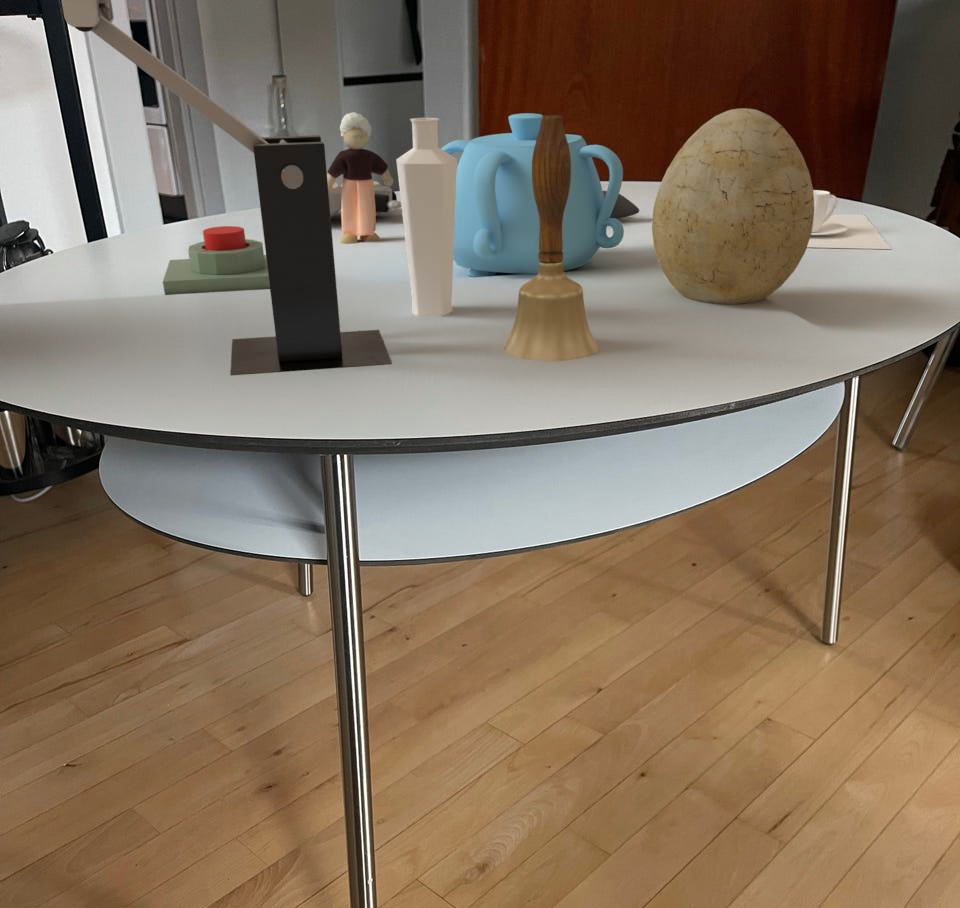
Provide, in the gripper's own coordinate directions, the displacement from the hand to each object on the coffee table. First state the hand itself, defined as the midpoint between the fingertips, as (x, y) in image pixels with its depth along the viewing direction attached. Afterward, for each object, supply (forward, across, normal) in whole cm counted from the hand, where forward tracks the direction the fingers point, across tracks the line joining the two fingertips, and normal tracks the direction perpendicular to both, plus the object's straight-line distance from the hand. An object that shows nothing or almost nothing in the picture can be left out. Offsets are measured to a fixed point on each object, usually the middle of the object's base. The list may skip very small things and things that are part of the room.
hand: (91, 26), depth 61 cm
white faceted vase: (+21, -9, +21) cm, 31 cm away
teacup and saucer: (+20, -40, +66) cm, 80 cm away
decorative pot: (+21, -27, +33) cm, 48 cm away
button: (+18, -25, +5) cm, 31 cm away
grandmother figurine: (+21, -46, +19) cm, 54 cm away
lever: (+5, 0, +5) cm, 7 cm away
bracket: (+21, 0, +11) cm, 24 cm away
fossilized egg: (+20, -9, +46) cm, 51 cm away
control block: (+21, -25, +5) cm, 33 cm away
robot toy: (+21, -60, +17) cm, 66 cm away
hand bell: (+21, +3, +28) cm, 35 cm away
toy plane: (+21, -55, +41) cm, 72 cm away
